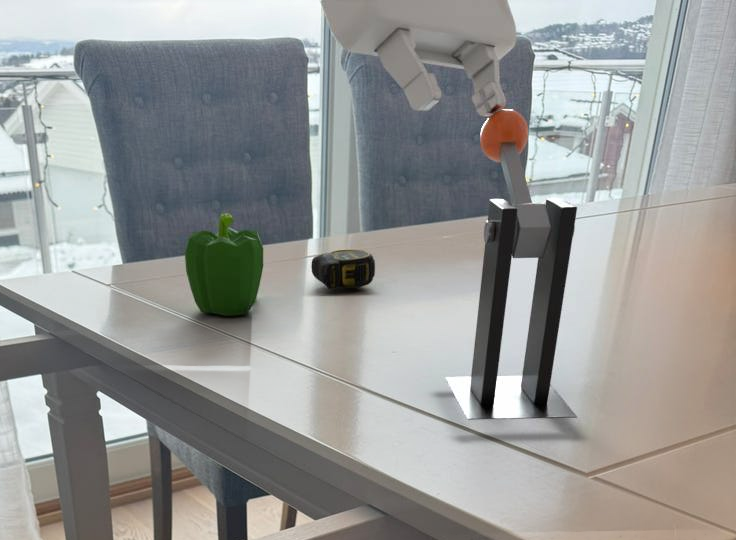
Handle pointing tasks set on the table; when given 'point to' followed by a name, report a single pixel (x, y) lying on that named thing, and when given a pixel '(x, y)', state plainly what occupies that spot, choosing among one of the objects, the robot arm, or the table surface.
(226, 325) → the table surface
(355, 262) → the tape measure
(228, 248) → the bell pepper
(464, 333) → the table surface
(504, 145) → the lever
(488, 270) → the bracket
